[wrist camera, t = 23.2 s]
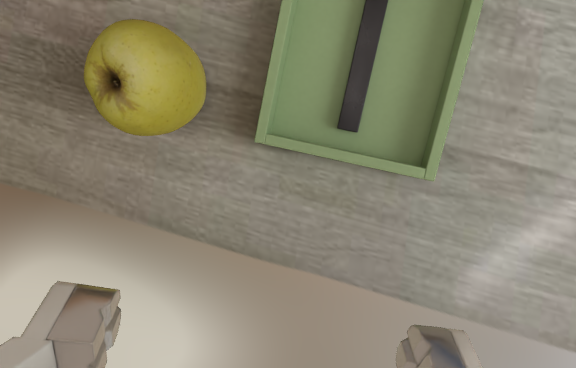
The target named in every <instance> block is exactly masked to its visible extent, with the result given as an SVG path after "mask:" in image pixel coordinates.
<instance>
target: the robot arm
mask: <svg viewBox="0 0 576 368" xmlns="http://www.w3.org/2000/svg"><path fill="white" fill-rule="evenodd" d="M119 300H120V290H116V289H110V288H103V287H96V286H89V285H83V284H76V283H68V282H60V281H57V282H56V283H55V284H54V285H53V286H52V287H51V289H50V290H49V292H48V294H47V295H46V297H45V298H44V300H43V302H42V303H41V305H40V306H39V308H38V310H37V311H36V313H35V314H34V316H33V318H32V319H31V321H30V323H29V324H28V326H27V327H26V329H25V331H24V332H23V334H22V335H21V337H13V338H11V339H10V340H8V341H6V342H5V343H3V344H2V345H0V368H105V365H106V363H107V355H106V351H107V350H108V349H109V348H111V347H112V346H113V345H114V342H115V339H116V336H117V333H118V329H119V325H120V319H121V309H120V308H119V307H118V303H119ZM407 334H408V338H407V339H405V340H403V341H401V343H400V344H399V346H398V348H397V353H396V365H397V368H483V367H482V365H481V363H480V361H479V359H478V356H477V354H476V352H475V350H474V348H473V346H472V344H471V341H470V339H469V337H468V335H467V334H466V333H465V332H464V331H463V330H455V329H446V328H441V327H432V326H421V325H413V326H411V327H410V328H409V329H408V331H407Z"/></svg>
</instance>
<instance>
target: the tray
mask: <svg viewBox="0 0 576 368" xmlns="http://www.w3.org/2000/svg"><path fill="white" fill-rule="evenodd" d="M483 1H484V0H388V4H387V9H386V13H385V17H384V21H383V26H382V30H381V34H380V39H379V43H378V47H377V52H376V56H375V60H374V64H373V69H372V73H371V77H370V82H369V86H368V90H367V95H366V99H365V103H364V108H363V112H362V116H361V120H360V125H359V129H358V132H357V133H356V132H351V131H346V130H341V129H337V126H338V121H339V117H340V112H341V108H342V103H343V99H344V94H345V90H346V85H347V81H348V76H349V72H350V67H351V63H352V59H353V54H354V50H355V45H356V41H357V36H358V32H359V27H360V23H361V18H362V14H363V9H364V5H365V0H282V2H281V7H280V12H279V17H278V22H277V27H276V32H275V38H274V43H273V48H272V53H271V58H270V63H269V68H268V73H267V79H266V84H265V89H264V94H263V99H262V104H261V109H260V114H259V120H258V125H257V130H256V135H255V140H254V142H257V143H261V144H266V145H270V146H275V147H279V148H284V149H288V150H293V151H297V152H302V153H307V154H311V155H316V156H320V157H325V158H329V159H334V160H338V161H343V162H347V163H352V164H356V165H361V166H365V167H370V168H375V169H379V170H384V171H388V172H393V173H397V174H402V175H406V176H411V177H415V178H420V179H425V180H429V181H434V180H435V177H436V173H437V169H438V166H439V162H440V158H441V155H442V151H443V147H444V144H445V140H446V136H447V133H448V129H449V125H450V122H451V118H452V115H453V111H454V107H455V104H456V100H457V96H458V93H459V89H460V85H461V82H462V78H463V74H464V71H465V67H466V63H467V60H468V56H469V52H470V49H471V45H472V41H473V38H474V34H475V30H476V27H477V23H478V20H479V16H480V12H481V9H482V5H483Z"/></svg>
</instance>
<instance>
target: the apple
mask: <svg viewBox="0 0 576 368" xmlns="http://www.w3.org/2000/svg"><path fill="white" fill-rule="evenodd" d="M84 81H85V84H86V87H87V89H88V91H89V93H90V94H91V96H92V99H93V101H94V104H95V106H96V108H97V110H98V111H99V113H100V114H101V115H102V116H103V117H104V118H105V119H106V120H107V121H108V122H109V123H110V124H112V125H113V126H114V127H116V128H118V129H120V130H122V131H124V132H126V133H129V134H133V135H139V136H154V135H161V134H166V133H170V132H172V131H175V130H177V129H179V128H180V127H182V126H184V125H185V124H187V123H188V122H189V121H191V120H192V119H193V118H194V117H195V116H196V115H197V113H198V112H199V111H200V109H201V108H202V106H203V104H204V101H205V97H206V77H205V72H204V68H203V66H202V63H201V61H200V59H199V57H198V56H197V54H196V53H195V52H194V51H193V50H192V49H191V48H190V47H189V46H188V45H187V44H186V43H185V42H184V41H183V40H182V39H181V38H180V37H178V36H177V35H176V34H174V33H173V32H172V31H170V30H169V29H167V28H165V27H163V26H161V25H158V24H156V23H152V22H149V21H144V20H135V19H130V20H122V21H118V22H115V23H113V24H112V25H110V26H108V27H107V28H106V29H105V30H103V31H102V33H101V34H100V35H99V36H98V37H97V39H96V40H95V41H94V43H93V45H92V46H91V48H90V50H89V52H88V55H87V59H86V63H85V68H84Z"/></svg>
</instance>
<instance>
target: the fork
mask: <svg viewBox="0 0 576 368" xmlns="http://www.w3.org/2000/svg"><path fill="white" fill-rule="evenodd" d="M387 4H388V0H365V5H364V9H363V14H362V18H361V23H360V27H359V32H358V36H357V41H356V45H355V50H354V54H353V59H352V63H351V67H350V72H349V76H348V81H347V85H346V90H345V94H344V99H343V103H342V108H341V112H340V117H339V121H338V126H337V129H341V130H346V131H351V132H356V133H357V132H358V129H359V125H360V120H361V116H362V112H363V108H364V103H365V99H366V95H367V90H368V86H369V82H370V77H371V73H372V69H373V64H374V60H375V56H376V52H377V47H378V43H379V39H380V34H381V30H382V26H383V21H384V17H385V13H386V9H387Z"/></svg>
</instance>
